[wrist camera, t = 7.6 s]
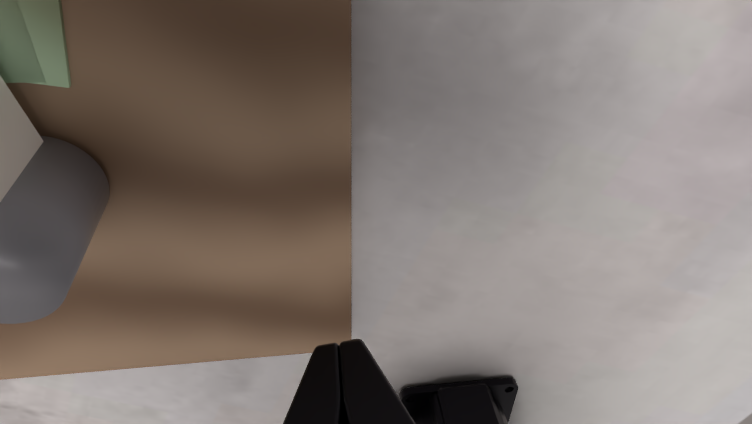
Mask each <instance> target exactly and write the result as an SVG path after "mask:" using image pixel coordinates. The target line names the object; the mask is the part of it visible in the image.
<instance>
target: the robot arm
mask: <svg viewBox="0 0 752 424" xmlns="http://www.w3.org/2000/svg"><path fill="white" fill-rule="evenodd" d="M517 390H518V386H517V383H516V381H515V379H513V378H502V379H492V380H481V381H471V382H461V383H450V384H440V385H429V386H419V387H409V388H406V389H404V390H402V391H401V393H400V399H399V397H398V396H397V394H396V392H395V391H394V389H393V388H392V386H391V385H390V383H389V381H388V380H387V378H386V377H385V375H384V374H383V372H382V370H381V369H380V367H379V366H378V364H377V363H376V361H375V359H374V358H373V356H372V355H371V353H370V352H369V350H368V348H367V347H366V345H365V344H364V342H363V341H362V340H361V339H354V340H348V341H342V342H341V343H340V344H339V345H338V344H337V343H329V344H323V345H318V346H317V347H315V349H314V351H313V353H312V356H311V358H310V360H309V363H308V365H307V368H306V370H305V372H304V375H303V377H302V380H301V382H300V384H299V387H298V389H297V391H296V394H295V396H294V399H293V401H292V403H291V406H290V408H289V411H288V413H287V415H286V418H285V420H284V423H283V424H508V421H509V418H510V414H511V411H512V408H513V404H514V401H515V397H516V394H517Z"/></svg>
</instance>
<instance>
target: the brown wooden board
mask: <svg viewBox="0 0 752 424" xmlns="http://www.w3.org/2000/svg"><path fill="white" fill-rule="evenodd" d="M0 76H1V77H2V79H3V80H4V82H5V83H6V85H7V86H8V88H9V89H10V91H11V92H12V94H13V96H14V97H15V99H16V100H17V102H18V103H19V105H20V106H21V108H22V109H23V111H24V112H25V114H26V115H27V117H28V118H29V120H30V121H31V123H32V124H33V126H34V127H35V129H36V130H37V132H38V133H39V135H40V136H46V137H52V138H56V139H60V140H63V141H66V142H68V143H70V144H72V145H75V146H76V147H78V148H80V149H81V150H83V151H84V152H86V153H87V154H88V155H90V156H91V157H92V158H93V159H94V160H95V161H96V162H97V163H98V164H99V166H100V167H101V169H102V170H103V172H104V173H105V175H106V178H107V180H108V184H109V200H108V203H107V205H106V208H105V210H104V212H103V214H102V217H101V219H100V221H99V223H98V226H97V228H96V230H95V232H94V235H93V237H92V239H91V242H90V244H89V246H88V248H87V251H86V253H85V255H84V257H83V260H82V262H81V264H80V266H79V269H78V271H77V273H76V275H75V278H74V280H73V282H72V284H71V287H70V289H69V291H68V293H67V296H66V298H65V300H64V301H63V303H62V304H61V306H60V307H59V308H58V309H57V310H55V311H54V312H53V313H51V314H49V315H48V316H46V317H43V318H41V319H38V320H35V321H31V322H26V323H17V324H2V323H0V380H2V379H13V378H25V377H36V376H48V375H59V374H71V373H82V372H94V371H105V370H117V369H129V368H140V367H152V366H163V365H175V364H186V363H198V362H209V361H221V360H233V359H244V358H256V357H267V356H279V355H290V354H302V353H313V351H314V349H315V347H317V346H318V345H323V344H329V343H337V344H338V345H339V344H340V343H341V342H342V341H348V340H351V0H0Z"/></svg>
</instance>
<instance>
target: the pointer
mask: <svg viewBox="0 0 752 424" xmlns="http://www.w3.org/2000/svg"><path fill="white" fill-rule="evenodd" d="M108 200H109V184H108V180H107V178H106V175H105V173H104V172H103V170H102V169H101V167H100V166H99V164H98V163H97V162H96V161H95V160H94V159H93V158H92V157H91V156H90V155H88V154H87V153H86V152H84V151H83V150H81V149H80V148H78V147H76V146H75V145H72V144H70V143H68V142H66V141H63V140H60V139H56V138H52V137H46V136H40V135H39V133H38V132H37V130H36V129H35V127H34V126H33V124H32V123H31V121H30V120H29V118H28V117H27V115H26V114H25V112H24V111H23V109H22V108H21V106H20V105H19V103H18V102H17V100H16V99H15V97H14V96H13V94H12V92H11V91H10V89H9V88H8V86H7V85H6V83H5V82H4V80H3V79H2V77H1V76H0V323H2V324H17V323H26V322H31V321H35V320H38V319H41V318H43V317H46V316H48V315H49V314H51V313H53V312H54V311H55V310H57V309H58V308H59V307H60V306H61V304H62V303H63V301H64V300H65V298H66V296H67V293H68V291H69V289H70V287H71V284H72V282H73V280H74V278H75V275H76V273H77V271H78V269H79V266H80V264H81V262H82V260H83V257H84V255H85V253H86V251H87V248H88V246H89V244H90V242H91V239H92V237H93V235H94V232H95V230H96V228H97V226H98V223H99V221H100V219H101V217H102V214H103V212H104V210H105V208H106V205H107V203H108Z"/></svg>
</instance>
